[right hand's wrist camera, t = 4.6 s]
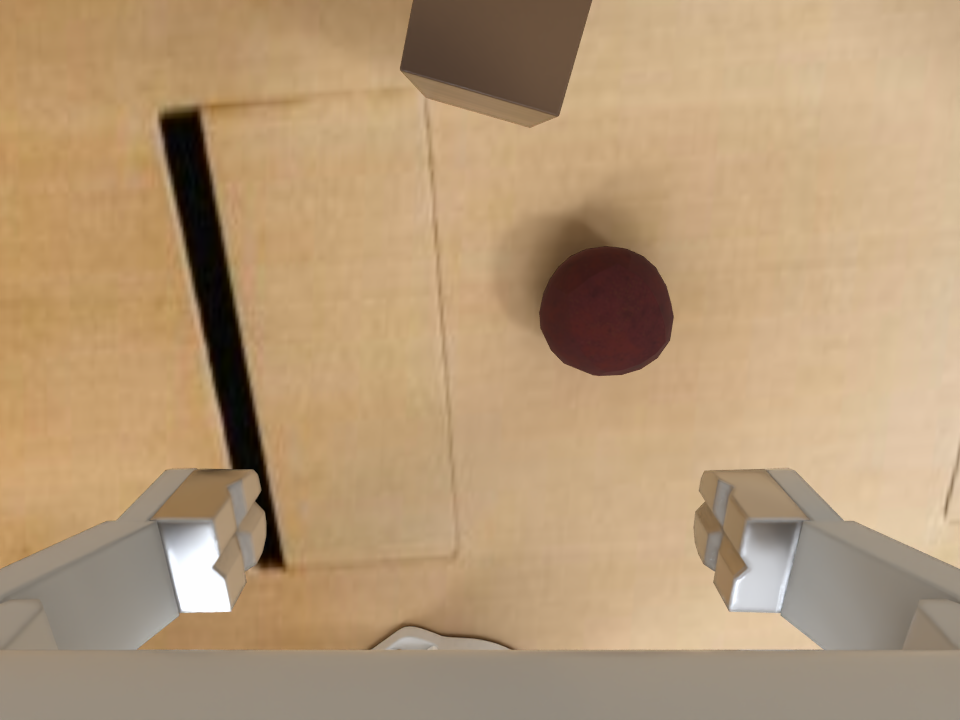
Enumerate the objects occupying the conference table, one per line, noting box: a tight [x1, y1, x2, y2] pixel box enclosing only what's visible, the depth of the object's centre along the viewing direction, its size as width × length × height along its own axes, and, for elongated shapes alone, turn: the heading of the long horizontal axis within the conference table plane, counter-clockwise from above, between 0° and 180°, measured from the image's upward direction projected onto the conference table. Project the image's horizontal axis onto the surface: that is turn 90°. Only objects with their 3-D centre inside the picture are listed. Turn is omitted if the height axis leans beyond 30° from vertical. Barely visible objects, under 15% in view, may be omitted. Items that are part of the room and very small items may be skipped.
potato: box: [539, 246, 674, 376], centre depth 33 cm, size 7×8×7 cm
